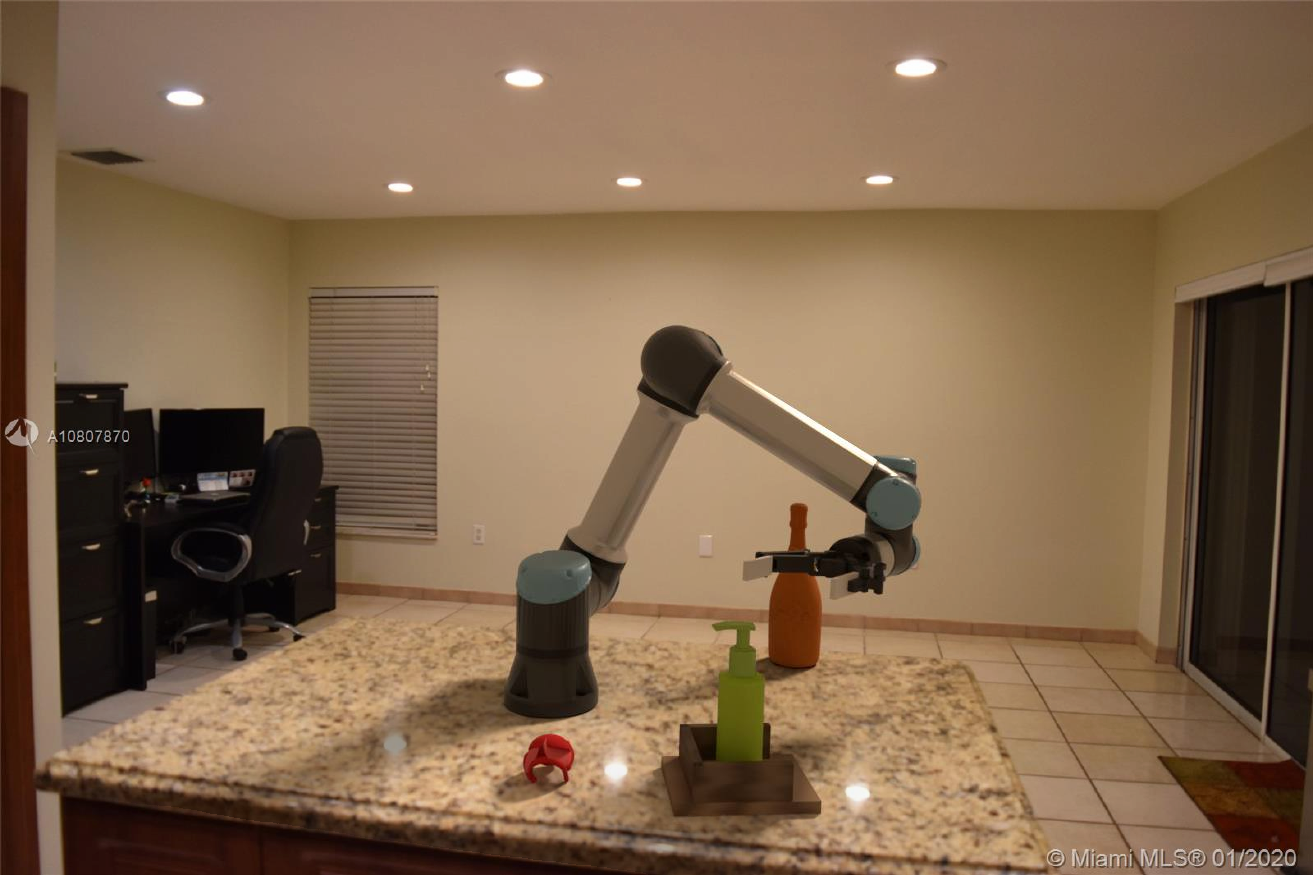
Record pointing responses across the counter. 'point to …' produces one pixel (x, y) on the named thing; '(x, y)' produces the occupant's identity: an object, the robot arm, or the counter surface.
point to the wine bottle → (795, 607)
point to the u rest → (733, 779)
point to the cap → (548, 755)
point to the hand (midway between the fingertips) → (787, 580)
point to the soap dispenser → (740, 700)
